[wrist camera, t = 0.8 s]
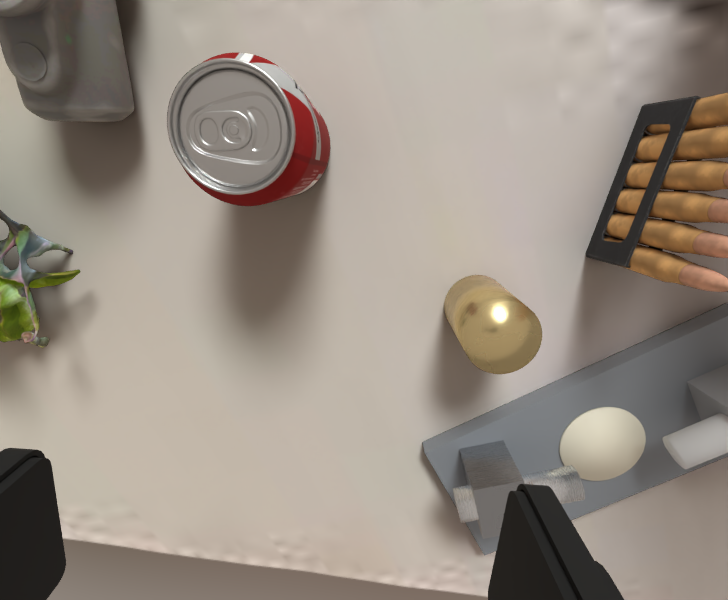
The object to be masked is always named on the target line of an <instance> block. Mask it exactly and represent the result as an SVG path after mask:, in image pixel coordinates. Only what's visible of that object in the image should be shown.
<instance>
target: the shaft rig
mask: <svg viewBox="0 0 728 600" xmlns="http://www.w3.org/2000/svg"><path fill="white" fill-rule="evenodd" d="M501 440H503V441H504V443H505V445H506V447H507V449H508V451H509V453H510V454H511V456H512V458H513V460H514V462H515V464H516V466H517V468H518V470H519V472H520V474H521V475H523V474H528V473H533V472H538V471H544V470H549V469H554V468H559V467H564V466H569V465H572V466H574V468H575V469H576V470H577V472H578V474H579V476H580V478H581V481H582V484H583V487H584V491H585V499H584V500H580V501H575V502H570V503H564V504H561V505H562V507H563V508H564V510H565V512H566V514H567V515H568V517H569V519H570V520H573V519H575V518H578V517H580V516H583V515H585V514H588V513H590V512H593V511H595V510H597V509H600V508H602V507H605V506H607V505H610V504H612V503H615V502H617V501H620V500H622V499H624V498H627V497H629V496H632V495H634V494H637V493H639V492H642V491H644V490H647V489H649V488H651V487H654V486H656V485H659V484H661V483H664V482H666V481H669V480H671V479H674V478H676V477H679V476H681V475H683V474H686V473H688V472H691V471H693V470H696V469H698V468H701V467H703V466H706V465H708V464H710V463H713V462H715V461H718V460H720V459H723V458H725V457H728V304H724V305H722V306H719V307H717V308H715V309H713V310H711V311H709V312H706V313H704V314H702V315H700V316H698V317H695V318H693V319H691V320H689V321H687V322H684V323H682V324H680V325H678V326H676V327H674V328H671V329H669V330H667V331H665V332H663V333H660V334H658V335H656V336H654V337H652V338H649V339H647V340H645V341H643V342H641V343H639V344H636V345H634V346H632V347H630V348H628V349H625V350H623V351H621V352H619V353H617V354H614V355H612V356H610V357H608V358H606V359H604V360H601V361H599V362H597V363H595V364H593V365H590V366H588V367H586V368H584V369H582V370H579V371H577V372H575V373H573V374H571V375H568V376H566V377H564V378H562V379H560V380H558V381H555V382H553V383H551V384H549V385H547V386H544V387H542V388H540V389H538V390H536V391H533V392H531V393H529V394H527V395H525V396H523V397H520V398H518V399H516V400H514V401H512V402H509V403H507V404H505V405H503V406H501V407H498V408H496V409H494V410H492V411H490V412H488V413H485V414H483V415H481V416H479V417H477V418H474V419H472V420H470V421H468V422H466V423H463V424H461V425H459V426H457V427H455V428H453V429H450V430H448V431H446V432H444V433H442V434H439V435H437V436H435V437H433V438H431V439H428V440H426V441H424V442H423V447H424V452H425V454H426V456H427V458H428V460H429V461H430V463H431V465H432V466H433V468H434V470H435V472H436V473H437V475H438V477H439V478H440V480H441V482H442V484H443V485H444V487H445V489H446V490H447V492H448V494H449V495H450V497H451V499H452V501H453V502H454V504H455V506H456V502H455V497H454V493H453V488H456V487H461V486H466V485H467V484H466V480H465V475H464V470H463V465H462V460H461V455H460V450H459V449H461V448H466V447H471V446H476V445H481V444H486V443H491V442H496V441H501ZM456 507H457V506H456ZM465 523H466V525H467V526H468V528H469V530H470V531H471V533H472V535H473V537H474V538H475V540H476V542H477V543H478V545H479V547H480V549H481V550H482V552H483V554H484V555H487V554H489V553H492V552H494V551H497V546H498V541H499V536H496V537H491V538H485V539H483V537H482V534H481V531H480V528H479V525H478V522H477V520H474V521H468V522H465Z"/></svg>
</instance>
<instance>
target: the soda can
mask: <svg viewBox="0 0 728 600" xmlns="http://www.w3.org/2000/svg"><path fill="white" fill-rule="evenodd" d="M167 128H168V135H169V139H170V143H171V146H172V148H173V151H174V153H175V155H176V157H177V159H178V160H179V162H180V163H181V165H182V166H183V168H184V170H185V171H186V173H187V174H188V175H189V177H190V178H191V179H192V180H193V181H194V182H195V183H196V184H197V185H198V186H199V187H200V188H201V189H203V190H204V191H205V192H207V193H208V194H210V195H211V196H213V197H215V198H217V199H219V200H221V201H224V202H227V203H230V204H234V205H240V206H256V205H262V204H267V203H270V202H273V201H277V200H280V199H283V198H287V197H290V196H294V195H297V194H300V193H302V192H304V191H306V190H308V189H309V188H311V187H312V186H313V185H314V184H315V183H316V182H317V181H318V180H319V179H320V178H321V176H322V175H323V173H324V171H325V169H326V167H327V164H328V161H329V156H330V137H329V132H328V129H327V126H326V124H325V122H324V120H323V118H322V116H321V115H320V113H319V112H318V111H317V109H316V108H315V107H314V105H313V104H312V103H311V102H310V100H309V99H308V98H307V96H306V95H305V94H304V93H303V91H302V90H301V89H300V87H299V86H298V85H297V84H296V82H295V81H294V80H293V79H292V78H291V77H290V76H289V75H288V74H287V73H286V72H285V71H284V70H283V69H281V68H280V67H279V66H277V65H276V64H274V63H272V62H271V61H269V60H267V59H264V58H262V57H259V56H256V55H252V54H247V53H226V54H221V55H217V56H215V57H212V58H210V59H208V60H206V61H204V62H202V63H201V64H199V65H197V66H195V67H194V68H192V69H191V70H190V71H189V72H187V73H186V74H185V75H184V76H183V77H182V79H181V80H180V81H179V83H178V84H177V86H176V87H175V89H174V91H173V93H172V96H171V99H170V102H169V106H168V112H167Z"/></svg>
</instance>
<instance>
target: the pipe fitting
mask: <svg viewBox="0 0 728 600" xmlns="http://www.w3.org/2000/svg"><path fill="white" fill-rule="evenodd" d="M0 43H1V47H2V51H3V55H4V58H5V61H6V63H7V65H8V67H9V69H10V70H11V72H12V73H13V75H14V76H15V77H16V81H17V84H18V88H19V91H20V94H21V97H22V100H23V103H24V105H25V107H26V108H27V109H28V110H29V111H31V112H32V113H34V114H36V115H37V116H39V117H41V118H43V119H46V120H50V121H73V122H115V121H121V120H123V119H125V118H126V117H127V116H128V115H130V114H131V113H132V112H133V110H134V102H133V95H132V88H131V83H130V77H129V72H128V66H127V61H126V55H125V50H124V44H123V39H122V33H121V28H120V22H119V17H118V11H117V6H116V0H0Z"/></svg>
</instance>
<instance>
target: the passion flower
mask: <svg viewBox="0 0 728 600" xmlns="http://www.w3.org/2000/svg"><path fill="white" fill-rule="evenodd" d="M0 218H1V220H3V221H4V222H5V223H6V224H7V225H8V227H9V235H8V238H6V239H5V240H2V241H0V341H2V342H7V341H14V340H21V339H22V338H23V341H24V342H25V343H31V344H34V345H38V346H39V347H41V348H43V347H45V346H47V344H48V342H49V338H47V337H43V338H38V337H37V333H38V331H39V316H38V315H37V312H36V309H35V303H34V301H33V298H32V294H31V291H30V288H40V287H46V286H55V285H59V284H62V283H65V282H67V281H69V280H71V279H73V278H74V277H75V276H76V275H77V274H79V273H80V270H74V271H66V272H59V273H42V272H39V271H36V270H33V269H31V268H30V267H29V266H28V265H27V262H26V261H27V259H28V258H30V257H37V256H40V255H42V254H43V253H44V252H46V251H49V250H62V251H65V252H68V253H70V254H73V250H71V249H68V248H65V247H63V246H62V245H59V244H56V243H53V242H51V241H48V240H46V239H44V238H42V237H40V236H38V235H36V234H35V233H34V232H33V231H32V230H31V229H30V228H29V227H28V226H26V225H23V224H19V223H17V222H15V221H13V220H11V219H10V218H9V217H7V216H6V215H5V214H4V213H3V212H2V211H1V210H0ZM14 246H17V249H18V255H19V266H18V268H17V269H15V270H10V269H9V268H8V267H6V266H5V265H4V257H5V255H6V253H7V252H8V251H9V250H10V249H11V248H12V247H14ZM23 288H25V291H24V289H23ZM34 328H35V334H34V333H33V332H31V331H32V330H33V329H34Z"/></svg>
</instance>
